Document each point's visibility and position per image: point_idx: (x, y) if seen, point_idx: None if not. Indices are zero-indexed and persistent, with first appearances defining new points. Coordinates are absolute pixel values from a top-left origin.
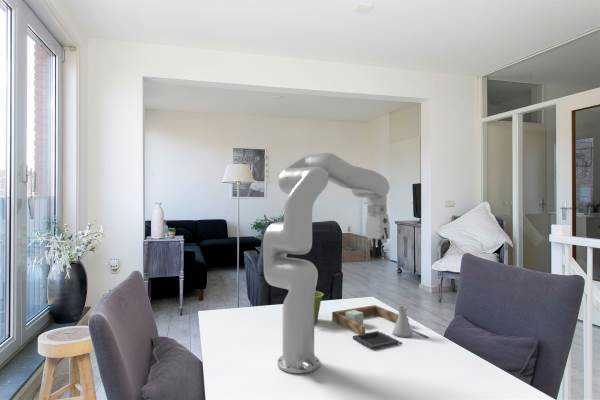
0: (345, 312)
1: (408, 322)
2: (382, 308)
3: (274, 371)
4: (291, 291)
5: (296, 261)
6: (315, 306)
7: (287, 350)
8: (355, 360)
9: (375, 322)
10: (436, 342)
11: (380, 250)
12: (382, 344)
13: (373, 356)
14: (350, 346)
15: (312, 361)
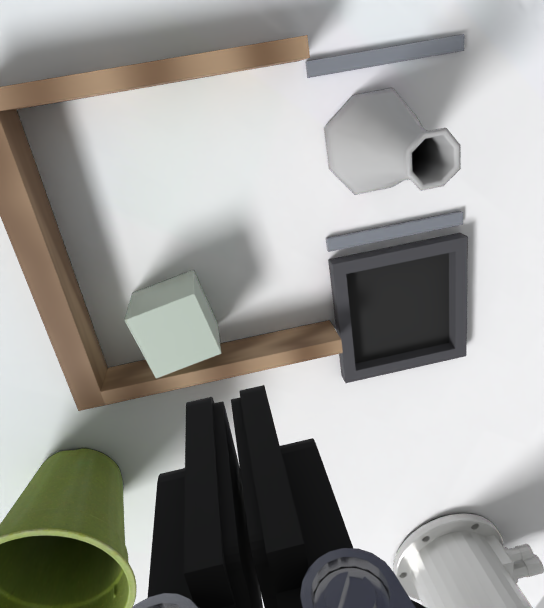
0: (156, 376)
1: (411, 116)
2: (54, 86)
3: None
4: None
5: None
6: (121, 527)
7: None
8: (495, 422)
9: (166, 187)
10: (522, 40)
11: (335, 502)
12: (466, 312)
13: (499, 364)
14: (397, 404)
15: (524, 559)
